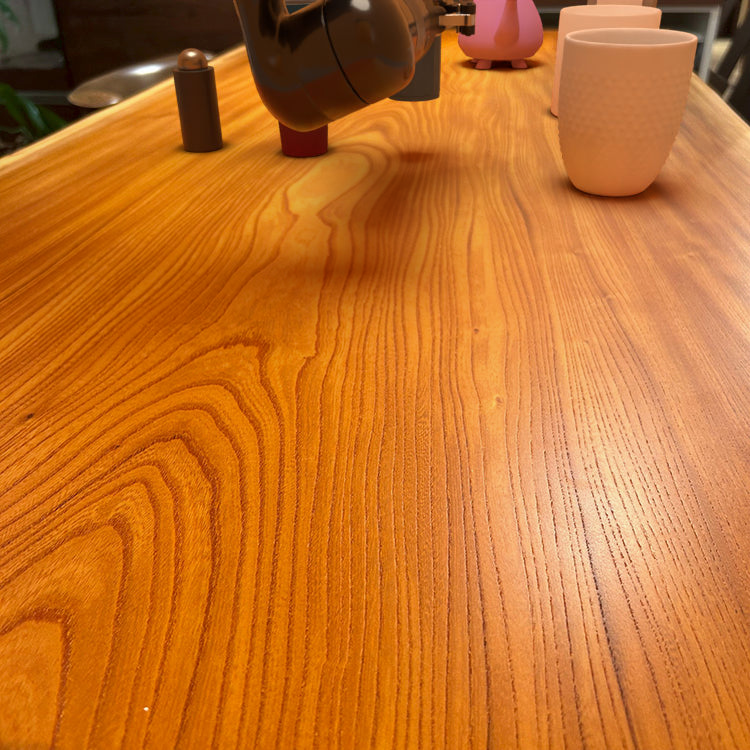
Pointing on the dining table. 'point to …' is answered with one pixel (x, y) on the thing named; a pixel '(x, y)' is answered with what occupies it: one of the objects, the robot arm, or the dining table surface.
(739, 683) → the dining table surface
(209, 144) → the pepper mill
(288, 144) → the cup
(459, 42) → the teapot
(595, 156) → the mug
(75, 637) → the dining table surface
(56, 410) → the dining table surface
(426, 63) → the bottle
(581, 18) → the cup
